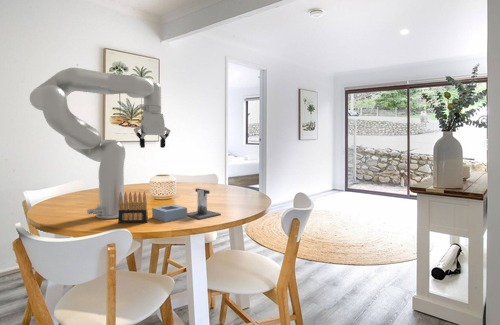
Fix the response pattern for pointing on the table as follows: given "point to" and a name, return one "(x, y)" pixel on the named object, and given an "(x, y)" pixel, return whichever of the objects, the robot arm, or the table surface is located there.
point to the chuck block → (169, 213)
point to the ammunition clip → (132, 209)
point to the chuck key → (202, 201)
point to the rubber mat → (197, 216)
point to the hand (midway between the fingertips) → (152, 147)
